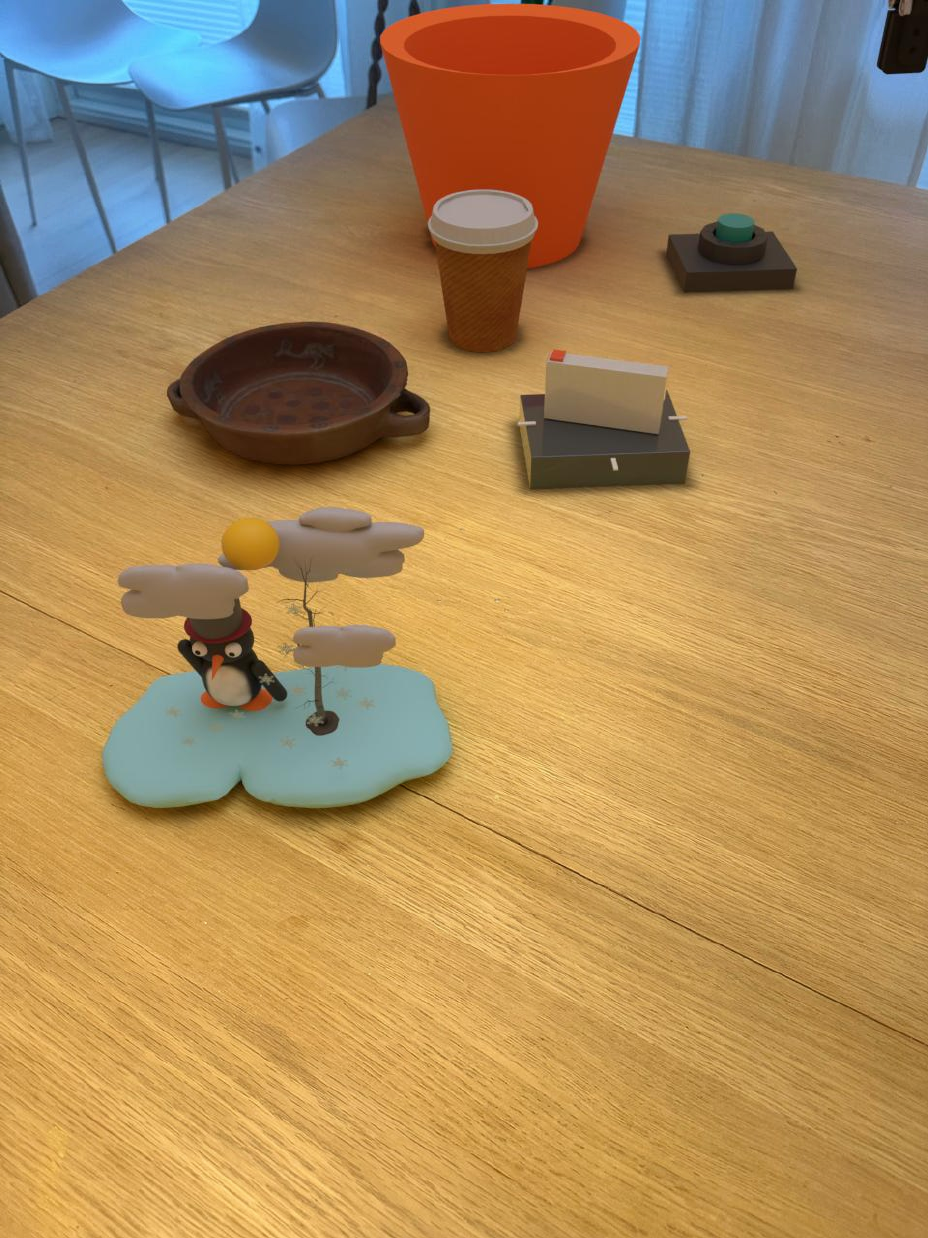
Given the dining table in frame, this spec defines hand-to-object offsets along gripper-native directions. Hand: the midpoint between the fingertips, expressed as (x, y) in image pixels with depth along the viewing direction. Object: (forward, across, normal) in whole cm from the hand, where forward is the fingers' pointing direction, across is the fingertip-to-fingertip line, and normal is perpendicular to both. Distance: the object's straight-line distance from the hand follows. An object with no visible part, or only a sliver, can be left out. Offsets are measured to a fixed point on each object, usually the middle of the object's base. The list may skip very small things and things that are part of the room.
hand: (900, 69), depth 80 cm
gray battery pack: (+20, -16, +24) cm, 35 cm away
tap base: (+23, -16, +24) cm, 37 cm away
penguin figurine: (+23, -45, +46) cm, 69 cm away
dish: (+23, -10, +48) cm, 54 cm away
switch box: (+23, +17, +6) cm, 29 cm away
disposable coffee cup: (+23, +4, +32) cm, 40 cm away
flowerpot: (+22, +26, +29) cm, 45 cm away
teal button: (+19, +17, +6) cm, 26 cm away
